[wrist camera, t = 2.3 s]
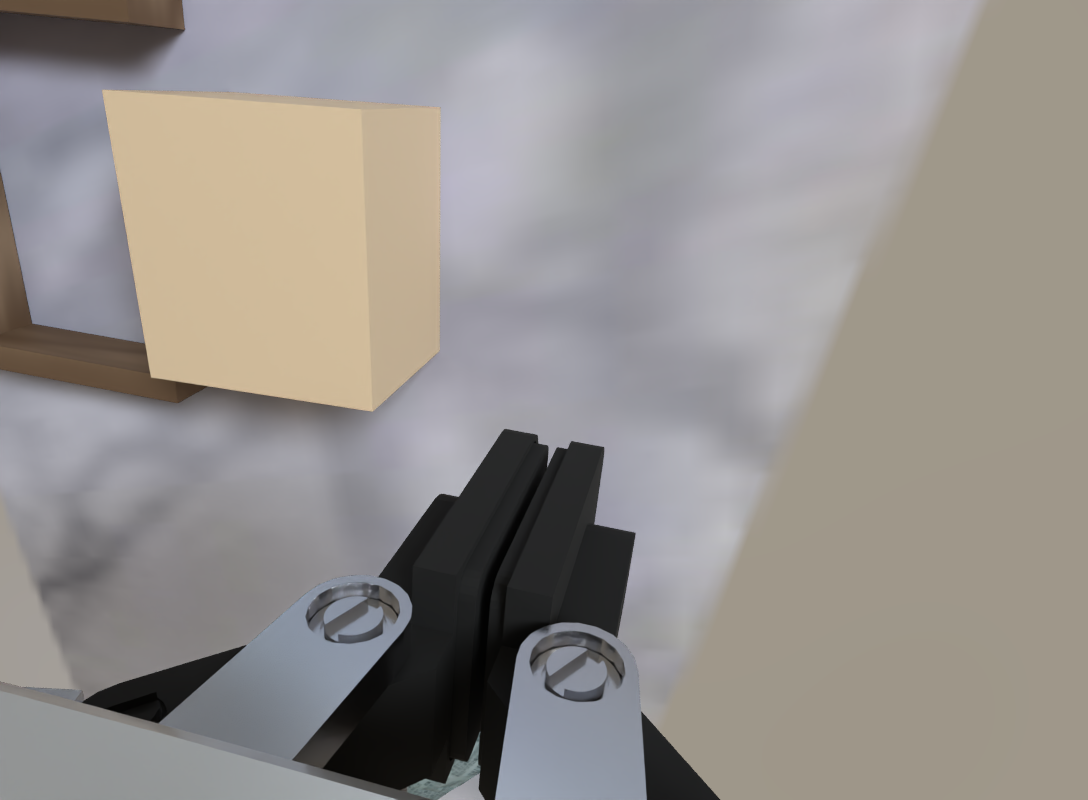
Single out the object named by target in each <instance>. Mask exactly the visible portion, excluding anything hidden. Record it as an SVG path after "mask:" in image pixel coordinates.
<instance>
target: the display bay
mask: <svg viewBox="0 0 1088 800" xmlns="http://www.w3.org/2000/svg"><path fill="white" fill-rule="evenodd" d="M0 12H3V13H13V14H24V15H34V16H45V17H56V18H66V19H77V20H87V21H98V22H108V23H119V24H129V25H140V26H151V27H161V28H172V29H182V30H185V28H184V18H183V8H182V0H0ZM0 369H2V370H7V371H12V372H17V373H23V374H28V375H33V376H38V377H43V378H49V379H54V380H59V381H64V382H70V383H75V384H80V385H85V386H91V387H96V388H101V389H106V390H112V391H117V392H122V393H127V394H133V395H138V396H143V397H148V398H154V399H159V400H164V401H169V402H175V403H179V402H181V401H183V400H184V399H186V398H188V397H190V396H192V395H193V394H195V393H197V392H199V391H200V390H202V389H204V388H206V387H208V386H204V385H197V384H191V383H184V382H178V381H172V380H165V379H159V378H152V377H151V374H150V369H149V363H148V357H147V351H146V345H145V344H144V343H138V342H132V341H127V340H121V339H115V338H110V337H104V336H98V335H93V334H87V333H81V332H76V331H70V330H64V329H59V328H53V327H48V326H42V325H36V324H32V322H31V317H30V312H29V307H28V302H27V298H26V293H25V288H24V283H23V278H22V274H21V269H20V264H19V259H18V254H17V249H16V245H15V240H14V235H13V230H12V225H11V221H10V216H9V211H8V206H7V201H6V197H5V192H4V187H3V182H2V177H1V173H0Z"/></svg>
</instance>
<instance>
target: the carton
mask: <svg viewBox="0 0 1088 800" xmlns="http://www.w3.org/2000/svg"><path fill="white" fill-rule="evenodd" d="M102 92H103V98H104V104H105V110H106V116H107V122H108V128H109V133H110V139H111V145H112V151H113V157H114V163H115V169H116V175H117V180H118V186H119V192H120V198H121V204H122V210H123V216H124V222H125V227H126V233H127V239H128V245H129V251H130V257H131V263H132V269H133V275H134V280H135V286H136V292H137V298H138V304H139V310H140V316H141V322H142V327H143V333H144V339H145V345H146V351H147V357H148V363H149V369H150V374H151V377H152V378H159V379H165V380H172V381H178V382H184V383H191V384H197V385H204V386H210V387H217V388H223V389H230V390H236V391H243V392H249V393H255V394H262V395H268V396H275V397H281V398H288V399H294V400H301V401H307V402H314V403H320V404H327V405H333V406H339V407H346V408H352V409H359V410H365V411H372V412H373V411H374V410H375V409H376V408H377V407H378V406H379V405H381V404H382V403H383V402H384V401H385V400H386V399H387V398H388V397H389V396H390V395H392V394H393V393H394V392H395V391H396V390H397V389H398V388H399V387H400V386H402V385H403V384H404V383H405V382H406V381H407V380H408V379H409V378H410V377H411V376H413V375H414V374H415V373H416V372H417V371H418V370H419V369H420V368H421V367H423V366H424V365H425V364H426V363H427V362H428V361H429V360H430V359H431V358H432V357H434V356H435V355H436V354H437V353H438V352H439V351H440V107H427V106H413V105H400V104H386V103H373V102H359V101H345V100H332V99H318V98H305V97H291V96H277V95H264V94H250V93H236V92H196V91H140V90H102Z"/></svg>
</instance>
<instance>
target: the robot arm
mask: <svg viewBox="0 0 1088 800" xmlns="http://www.w3.org/2000/svg"><path fill="white" fill-rule="evenodd" d="M603 458H604V447H600V446H595V445H589V444H584V443H578V442H573V441H571V443H570V445H569V447H568V449H564V448H558V447H557V449H556V451H555V453H554V455H553V457H552V459H551V461H550V463H549V465H548V467H547V461H548V446H547V445H542V444H538V436H537V435H535V434H530V433H524V432H519V431H513V430H508V429H504V430H503V431H502V433H501V434H500V436H499V437H498V439H497V440H496V442H495V443H494V445H493V446H492V448H491V449H490V451H489V452H488V454H487V455H486V457H485V458H484V460H483V461H482V463H481V464H480V466H479V467H478V469H477V470H476V472H475V473H474V475H473V476H472V478H471V479H470V481H469V482H468V484H467V485H466V487H465V488H464V490H463V491H462V493H461V494H460V496H459V497H456V496H451V495H446V494H439V495H438V496H437V497H436V498H435V500H434V501H433V502H432V504H431V505H430V506H429V508H428V509H427V511H426V512H425V513H424V515H423V516H422V517H421V519H420V520H419V522H418V523H417V524H416V526H415V527H414V529H413V530H412V531H411V533H410V534H409V535H408V537H407V538H406V540H405V541H404V542H403V544H402V545H401V546H400V548H399V549H398V551H397V552H396V553H395V555H394V556H393V557H392V559H391V560H390V562H389V563H388V564H387V566H386V567H385V569H384V570H383V571H382V573H381V574H380V575H379V577H374V576H370V575H351V576H346V577H340V578H335V579H332V580H330V581H327V582H324V583H322V584H319V585H318V586H316V587H315V588H313V589H312V590H310V591H309V592H307V593H306V594H305V595H303V596H302V597H301V598H300V599H299V600H298V601H297V602H296V603H294V604H293V605H292V606H291V607H290V608H289V609H288V610H286V611H285V612H284V613H283V614H282V615H281V616H280V617H279V618H277V619H276V620H275V621H274V622H273V623H272V624H271V625H269V626H268V627H267V628H266V629H265V630H264V631H263V632H261V633H260V634H259V635H258V636H257V637H256V638H255V639H254V640H252V641H251V642H250V643H249V644H248V645H245V646H242V647H239V648H235V649H232V650H229V651H225V652H222V653H219V654H215V655H212V656H209V657H205V658H202V659H199V660H195V661H192V662H189V663H185V664H182V665H179V666H175V667H172V668H169V669H165V670H162V671H159V672H155V673H152V674H149V675H146V676H142V677H139V678H136V679H132V680H129V681H126V682H122V683H119V684H117V685H114V686H112V687H109V688H107V689H104V690H102V691H99V692H97V693H96V694H94V695H92V696H91V697H89V698H88V699H86V700H84V696H83V691H82V690H71V689H52V688H32V687H19V686H16V685H12V684H8V683H4V682H0V800H432V799H428V798H425V797H421V796H418V795H414V794H411V793H407V790H408V786H410V785H413V784H415V783H417V782H419V781H422V780H424V779H428V780H432V781H435V782H439V783H443V784H446V781H447V779H448V776H449V774H450V771H451V769H452V766H453V764H454V761H455V759H456V760H460V761H464V762H468V760H469V758H470V756H471V754H472V751H473V748H474V746H475V743H476V741H477V738H478V735H479V733H480V740H479V753H478V765H479V766H481V767H480V779H479V790H480V792H481V794H482V796H483V797H484V799H485V800H720V799H719V798H718V797H717V796H716V794H714V792H713V791H712V790H711V789H710V788H709V787H708V786H707V784H706V783H705V782H704V781H703V780H702V779H701V778H700V777H699V776H698V774H697V773H696V772H695V771H694V770H693V769H692V768H691V766H690V765H689V764H688V763H687V762H686V761H685V760H684V759H683V758H682V756H681V755H680V754H679V753H678V752H677V751H676V750H675V749H674V747H673V746H672V745H671V744H670V743H669V742H668V741H667V740H666V738H665V737H664V736H663V735H662V734H661V733H660V732H659V731H658V730H657V728H656V727H655V726H654V725H653V724H652V723H651V722H650V721H649V719H648V718H647V717H646V716H645V715H644V714H643V713H642V712H641V704H640V689H639V674H638V669H637V665H636V661H635V658H634V656H633V655H632V654H631V652H630V651H629V649H628V648H627V646H626V645H625V644H624V643H622V642H621V641H620V640H619V639H617V636H618V631H619V626H620V621H621V615H622V610H623V604H624V598H625V593H626V587H627V581H628V576H629V570H630V564H631V558H632V552H633V546H634V540H635V533H634V532H629V531H624V530H619V529H614V528H609V527H604V526H599V525H594V522H595V515H596V508H597V501H598V494H599V487H600V479H601V472H602V465H603Z"/></svg>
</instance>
